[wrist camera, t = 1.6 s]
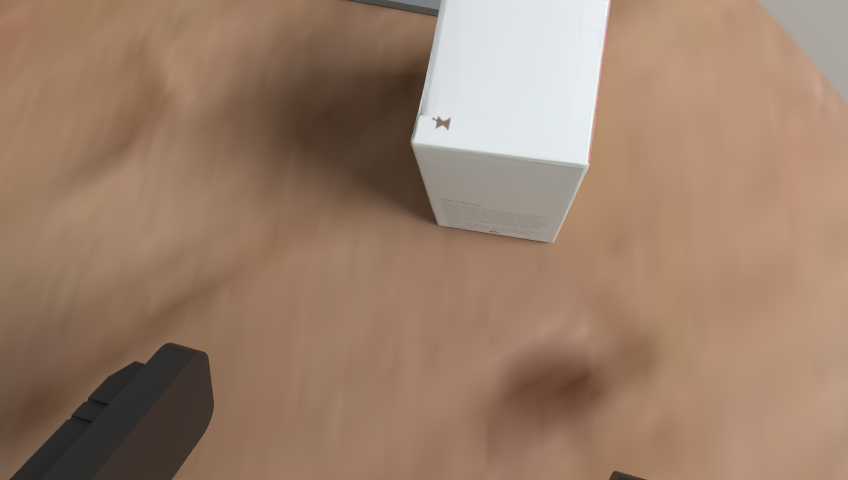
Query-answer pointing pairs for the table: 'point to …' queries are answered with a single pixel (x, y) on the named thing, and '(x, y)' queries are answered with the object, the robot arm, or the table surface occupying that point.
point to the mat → (409, 5)
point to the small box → (510, 112)
